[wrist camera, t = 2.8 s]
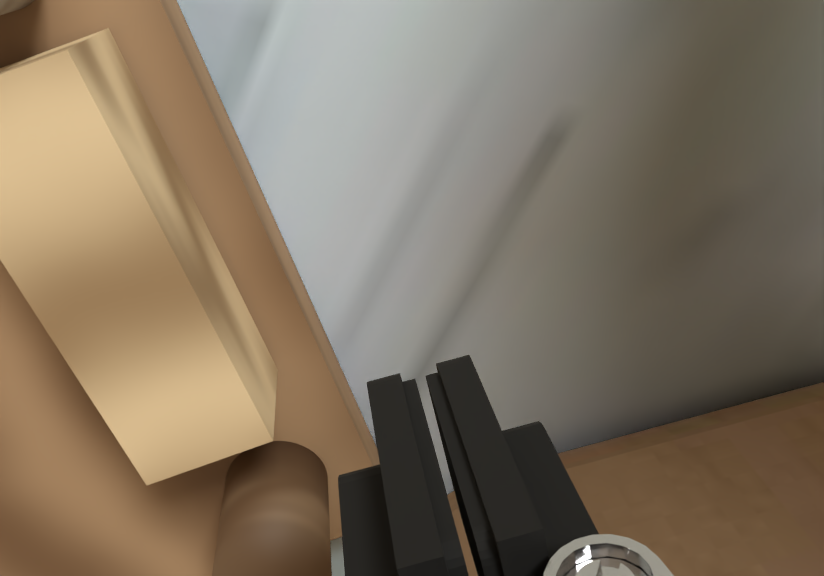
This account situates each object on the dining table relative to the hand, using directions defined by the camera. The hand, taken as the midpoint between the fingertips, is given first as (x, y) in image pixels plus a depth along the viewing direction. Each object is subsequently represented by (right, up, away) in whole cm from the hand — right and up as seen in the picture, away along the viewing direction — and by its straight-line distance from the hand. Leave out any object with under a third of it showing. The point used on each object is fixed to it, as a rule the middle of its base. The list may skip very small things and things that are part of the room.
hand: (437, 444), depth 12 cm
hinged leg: (-7, +4, +8) cm, 11 cm away
